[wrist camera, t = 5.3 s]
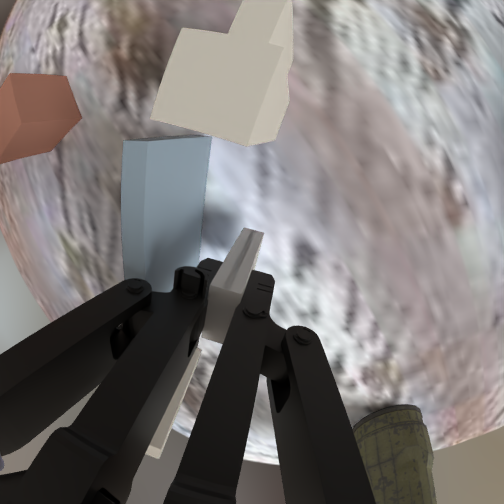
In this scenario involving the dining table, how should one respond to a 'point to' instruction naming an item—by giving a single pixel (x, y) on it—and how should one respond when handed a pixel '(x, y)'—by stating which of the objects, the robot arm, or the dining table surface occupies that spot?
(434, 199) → the dining table surface
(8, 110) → the reddish brown block
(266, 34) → the doorframe
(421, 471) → the thermos
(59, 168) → the dining table surface
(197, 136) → the door
